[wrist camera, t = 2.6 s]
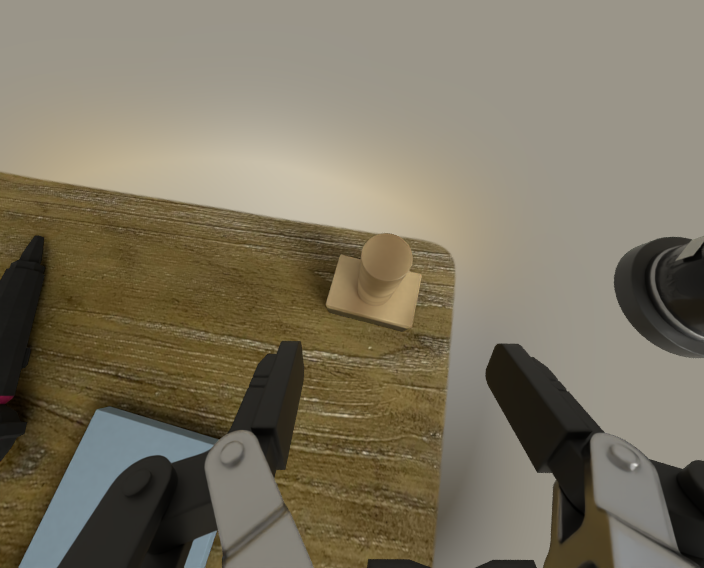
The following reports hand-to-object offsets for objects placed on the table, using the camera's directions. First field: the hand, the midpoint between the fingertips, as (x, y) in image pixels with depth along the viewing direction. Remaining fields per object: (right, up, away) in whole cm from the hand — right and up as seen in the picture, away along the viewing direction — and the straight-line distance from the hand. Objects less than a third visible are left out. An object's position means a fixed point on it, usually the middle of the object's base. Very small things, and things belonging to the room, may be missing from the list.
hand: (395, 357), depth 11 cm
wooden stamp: (0, +2, +13) cm, 13 cm away
